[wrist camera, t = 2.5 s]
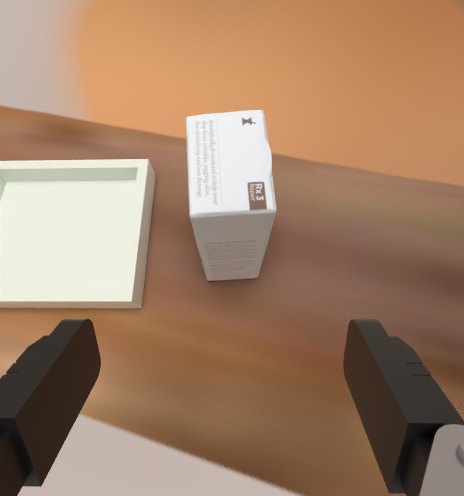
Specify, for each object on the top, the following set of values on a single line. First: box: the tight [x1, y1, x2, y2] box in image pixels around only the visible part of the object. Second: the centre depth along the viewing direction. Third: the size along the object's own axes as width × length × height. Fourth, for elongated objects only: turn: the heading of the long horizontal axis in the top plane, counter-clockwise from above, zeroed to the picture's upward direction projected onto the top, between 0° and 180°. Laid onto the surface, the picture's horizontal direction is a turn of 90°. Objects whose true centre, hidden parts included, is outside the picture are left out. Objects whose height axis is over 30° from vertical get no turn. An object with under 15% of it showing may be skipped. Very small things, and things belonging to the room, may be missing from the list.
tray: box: [0, 159, 156, 308], centre depth 27 cm, size 14×12×2 cm
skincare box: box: [186, 110, 276, 281], centre depth 22 cm, size 6×4×12 cm
